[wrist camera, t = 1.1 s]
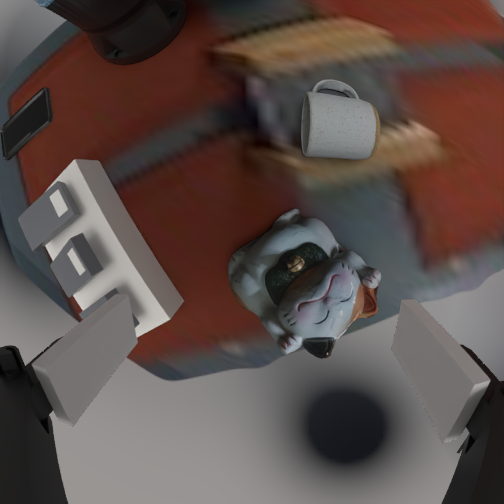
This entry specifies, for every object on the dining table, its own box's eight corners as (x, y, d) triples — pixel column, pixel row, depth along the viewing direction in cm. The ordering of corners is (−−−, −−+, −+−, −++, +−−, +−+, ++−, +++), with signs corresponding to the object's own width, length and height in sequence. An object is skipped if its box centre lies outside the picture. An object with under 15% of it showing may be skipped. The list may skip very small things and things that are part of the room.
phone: (0, 128, 35) (46, 84, 33) (4, 129, 36) (50, 86, 34) (4, 162, 37) (50, 120, 34) (8, 162, 38) (55, 121, 36)
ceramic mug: (364, 163, 34) (385, 157, 26) (301, 159, 34) (307, 151, 27) (360, 87, 31) (378, 65, 24) (299, 81, 32) (304, 57, 25)
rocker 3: (109, 337, 35) (100, 345, 33) (88, 306, 34) (78, 314, 32) (139, 323, 31) (129, 333, 29) (115, 287, 30) (103, 296, 28)
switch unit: (52, 208, 39) (21, 214, 31) (99, 160, 36) (67, 158, 29) (127, 333, 42) (105, 356, 35) (184, 300, 40) (166, 324, 33)
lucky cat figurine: (315, 192, 35) (396, 236, 23) (336, 262, 42) (401, 317, 30) (209, 254, 33) (252, 333, 22) (249, 318, 40) (294, 393, 28)
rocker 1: (40, 250, 30) (32, 251, 28) (25, 219, 30) (17, 218, 27) (81, 215, 31) (73, 214, 29) (64, 182, 30) (57, 180, 28)
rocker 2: (78, 291, 34) (67, 298, 32) (60, 259, 33) (49, 266, 31) (103, 269, 30) (91, 277, 28) (82, 232, 29) (69, 238, 27)
